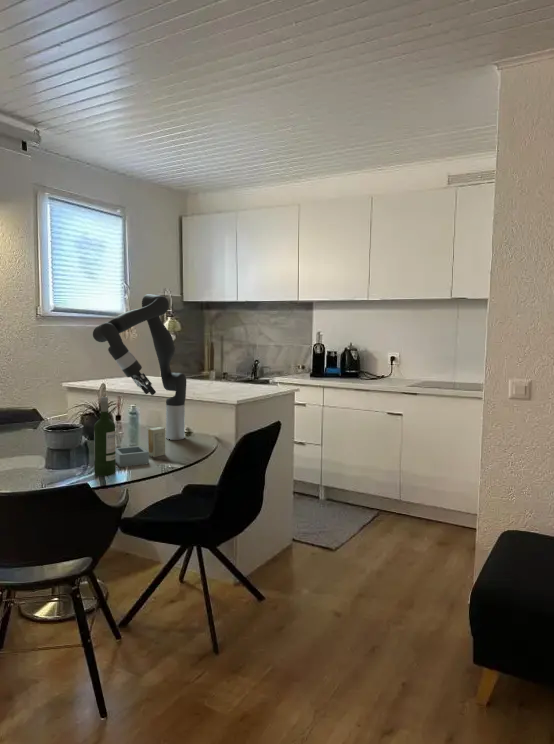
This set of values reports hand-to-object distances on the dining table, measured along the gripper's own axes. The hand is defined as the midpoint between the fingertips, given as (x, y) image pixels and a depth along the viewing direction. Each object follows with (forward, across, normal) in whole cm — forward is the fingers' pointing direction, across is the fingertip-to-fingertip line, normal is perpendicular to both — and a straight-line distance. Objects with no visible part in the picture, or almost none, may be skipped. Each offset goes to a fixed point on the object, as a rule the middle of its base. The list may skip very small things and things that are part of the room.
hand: (151, 393), depth 235 cm
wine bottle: (+10, -15, +37) cm, 41 cm away
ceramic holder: (+17, -4, +25) cm, 30 cm away
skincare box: (+24, +2, +14) cm, 28 cm away
